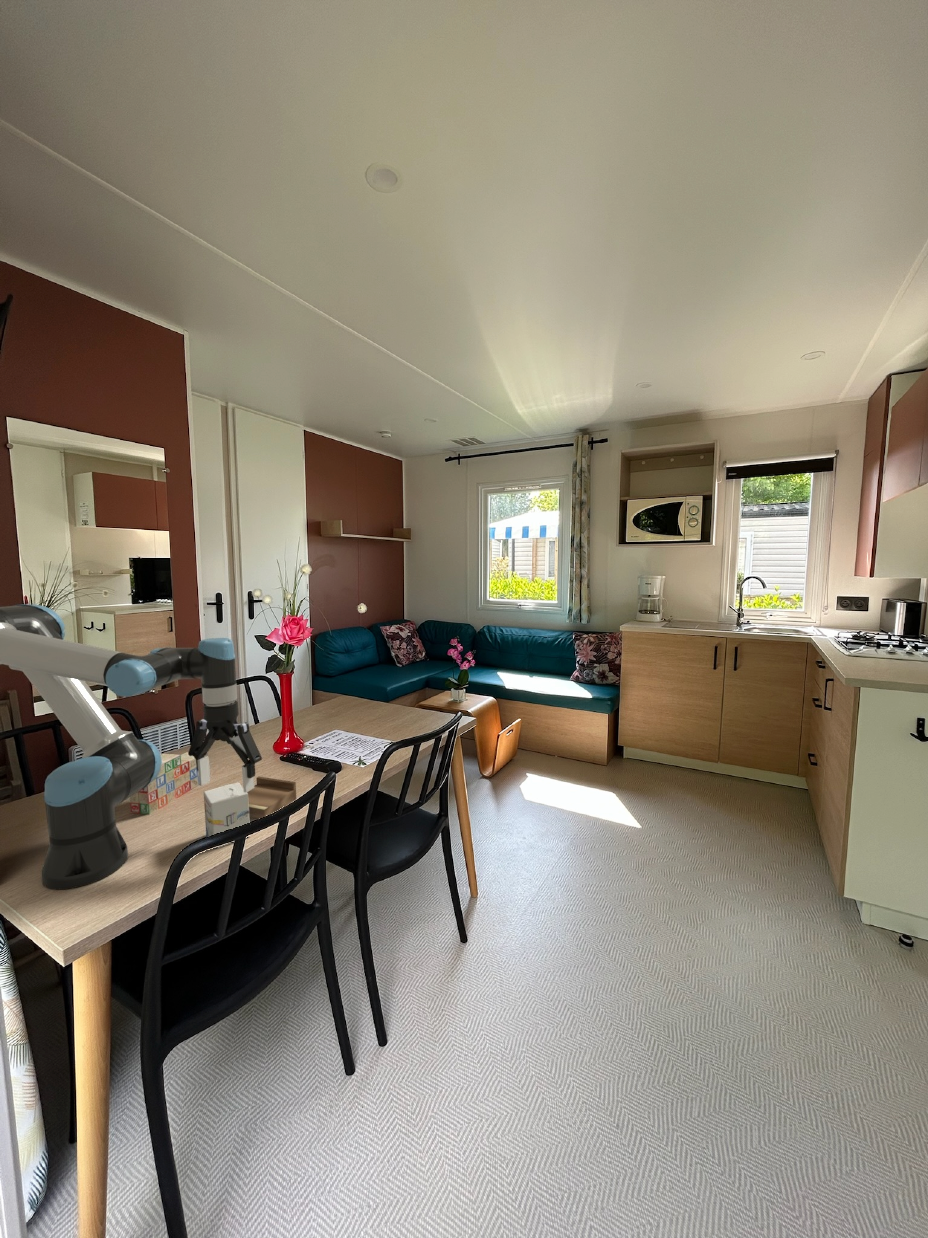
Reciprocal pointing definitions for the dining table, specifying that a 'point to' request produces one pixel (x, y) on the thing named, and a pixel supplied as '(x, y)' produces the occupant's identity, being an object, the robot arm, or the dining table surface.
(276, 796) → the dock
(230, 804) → the ink box
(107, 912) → the dining table surface
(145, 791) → the stack of blocks
